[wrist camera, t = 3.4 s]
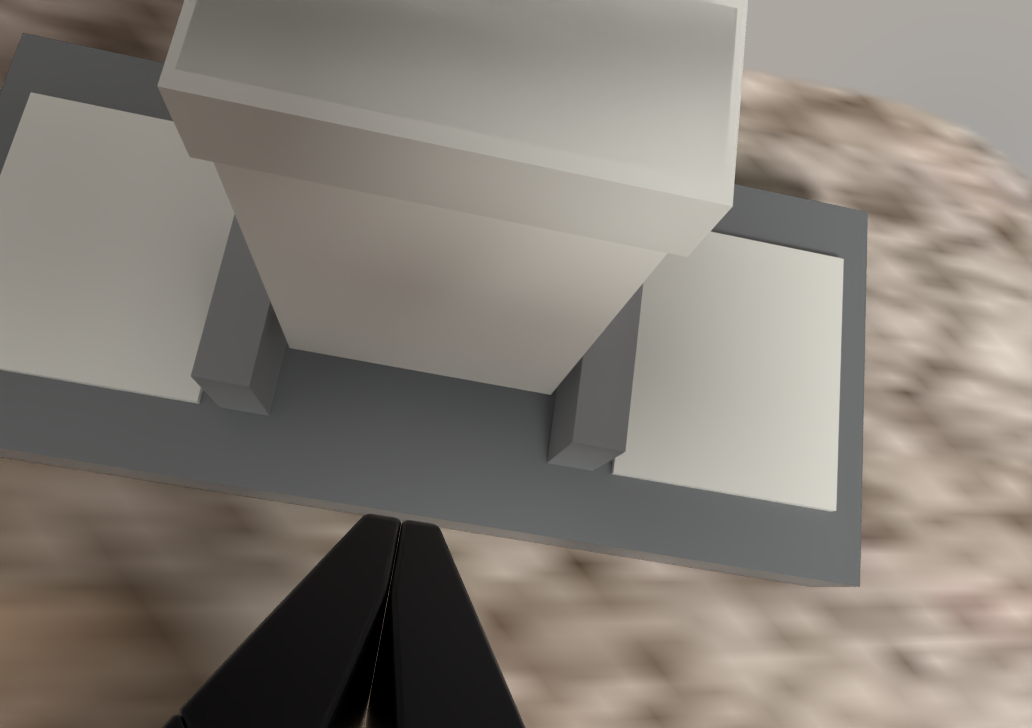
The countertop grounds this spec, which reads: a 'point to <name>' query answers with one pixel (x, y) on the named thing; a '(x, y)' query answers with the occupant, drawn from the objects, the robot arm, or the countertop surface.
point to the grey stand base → (414, 394)
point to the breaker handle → (461, 164)
